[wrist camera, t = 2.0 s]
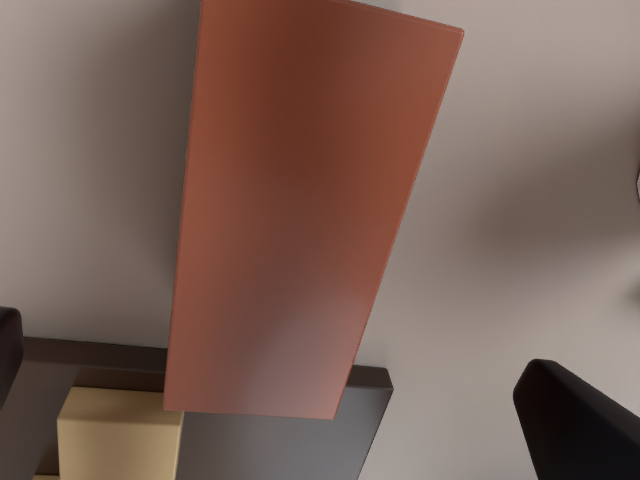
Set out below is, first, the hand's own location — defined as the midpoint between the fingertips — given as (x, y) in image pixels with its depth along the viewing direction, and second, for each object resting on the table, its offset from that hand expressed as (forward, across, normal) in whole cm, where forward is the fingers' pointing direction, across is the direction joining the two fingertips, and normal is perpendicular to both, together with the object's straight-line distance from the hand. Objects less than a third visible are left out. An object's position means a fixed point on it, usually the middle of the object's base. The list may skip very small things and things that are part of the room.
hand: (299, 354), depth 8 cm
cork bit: (+7, +4, +10) cm, 13 cm away
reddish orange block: (+8, 0, 0) cm, 8 cm away
